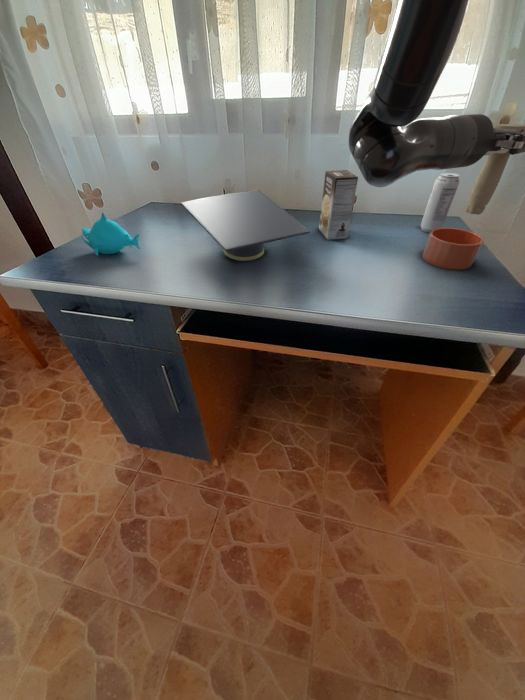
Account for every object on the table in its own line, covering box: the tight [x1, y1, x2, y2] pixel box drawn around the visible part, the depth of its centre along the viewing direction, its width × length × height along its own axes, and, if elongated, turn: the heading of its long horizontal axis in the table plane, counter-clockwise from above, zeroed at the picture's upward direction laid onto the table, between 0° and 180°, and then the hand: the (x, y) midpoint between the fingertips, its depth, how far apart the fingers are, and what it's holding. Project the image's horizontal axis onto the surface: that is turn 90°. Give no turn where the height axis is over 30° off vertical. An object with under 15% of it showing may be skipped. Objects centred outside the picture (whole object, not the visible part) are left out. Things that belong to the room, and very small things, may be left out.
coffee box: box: [318, 169, 359, 240], centre depth 84 cm, size 9×6×16 cm
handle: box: [465, 123, 525, 216], centre depth 59 cm, size 5×6×15 cm
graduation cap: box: [180, 190, 311, 262], centre depth 77 cm, size 28×23×10 cm
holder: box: [421, 227, 484, 270], centre depth 73 cm, size 11×11×6 cm
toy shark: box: [81, 211, 141, 256], centre depth 76 cm, size 10×18×11 cm, turn 72°
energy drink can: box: [419, 172, 460, 234], centre depth 86 cm, size 6×6×15 cm
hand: (514, 137), depth 56 cm, fingers closed on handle, 5 cm apart
